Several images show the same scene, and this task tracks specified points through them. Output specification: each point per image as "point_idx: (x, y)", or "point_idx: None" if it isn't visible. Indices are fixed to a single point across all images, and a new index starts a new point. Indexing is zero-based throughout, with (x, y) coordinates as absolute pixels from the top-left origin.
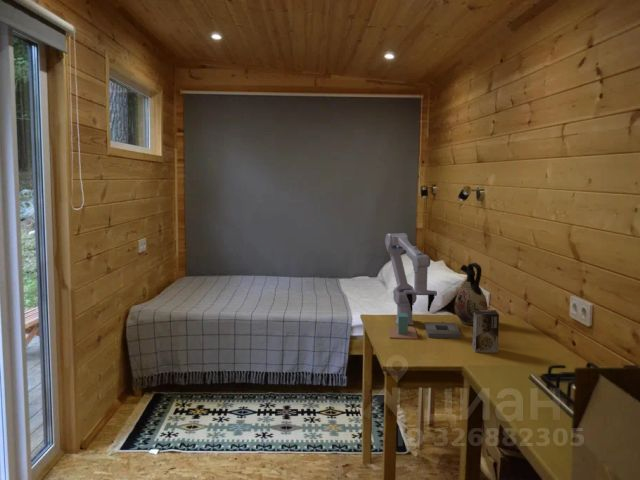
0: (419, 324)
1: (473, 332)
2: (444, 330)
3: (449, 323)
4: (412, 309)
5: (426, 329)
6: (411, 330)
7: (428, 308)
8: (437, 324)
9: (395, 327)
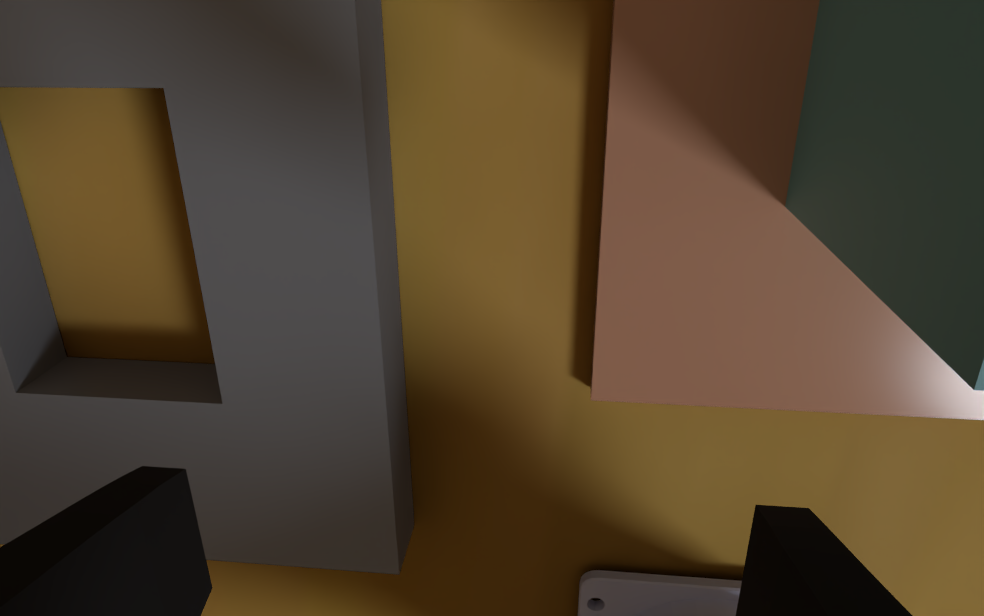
0: (483, 595)
1: None
2: (11, 68)
3: (1, 504)
4: (777, 536)
5: (385, 246)
6: (682, 216)
7: (97, 522)
8: (181, 449)
9: (964, 388)
